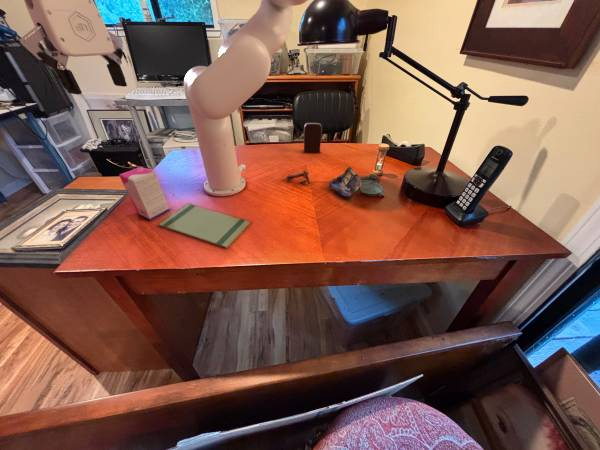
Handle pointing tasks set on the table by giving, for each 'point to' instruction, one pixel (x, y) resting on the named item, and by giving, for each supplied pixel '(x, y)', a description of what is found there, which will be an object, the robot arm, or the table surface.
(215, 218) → the towel
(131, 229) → the table surface
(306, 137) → the battery charger
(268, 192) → the table surface
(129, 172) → the supplement box
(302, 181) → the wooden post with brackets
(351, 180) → the snack package
